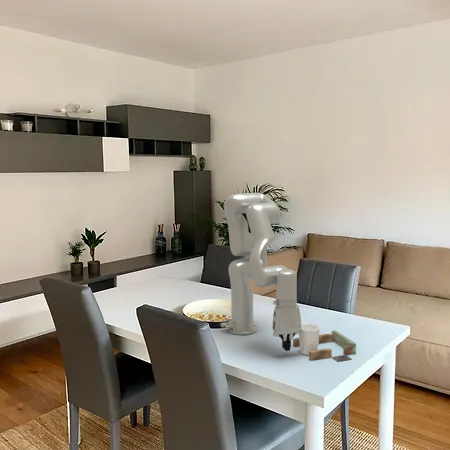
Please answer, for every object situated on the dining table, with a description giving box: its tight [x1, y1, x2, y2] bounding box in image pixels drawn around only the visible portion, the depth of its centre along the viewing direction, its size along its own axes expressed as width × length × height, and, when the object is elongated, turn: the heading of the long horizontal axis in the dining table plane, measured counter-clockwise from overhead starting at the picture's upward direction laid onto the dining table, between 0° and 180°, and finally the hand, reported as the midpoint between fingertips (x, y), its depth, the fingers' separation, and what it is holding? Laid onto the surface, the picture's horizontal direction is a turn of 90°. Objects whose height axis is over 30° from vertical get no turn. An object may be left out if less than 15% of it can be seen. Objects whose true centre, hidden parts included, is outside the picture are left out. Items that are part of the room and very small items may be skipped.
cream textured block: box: [298, 323, 320, 356], centre depth 177 cm, size 8×8×10 cm
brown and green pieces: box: [292, 330, 357, 363], centre depth 180 cm, size 19×24×4 cm
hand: (286, 349), depth 175 cm, fingers closed
